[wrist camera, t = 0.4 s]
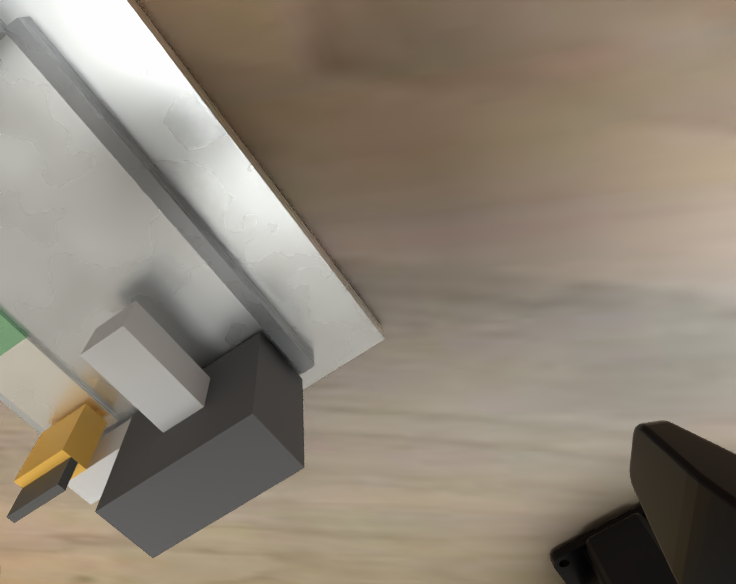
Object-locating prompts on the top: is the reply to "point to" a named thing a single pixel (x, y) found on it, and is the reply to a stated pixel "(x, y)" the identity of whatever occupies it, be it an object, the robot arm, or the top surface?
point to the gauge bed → (140, 216)
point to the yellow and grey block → (57, 459)
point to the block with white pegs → (188, 431)
